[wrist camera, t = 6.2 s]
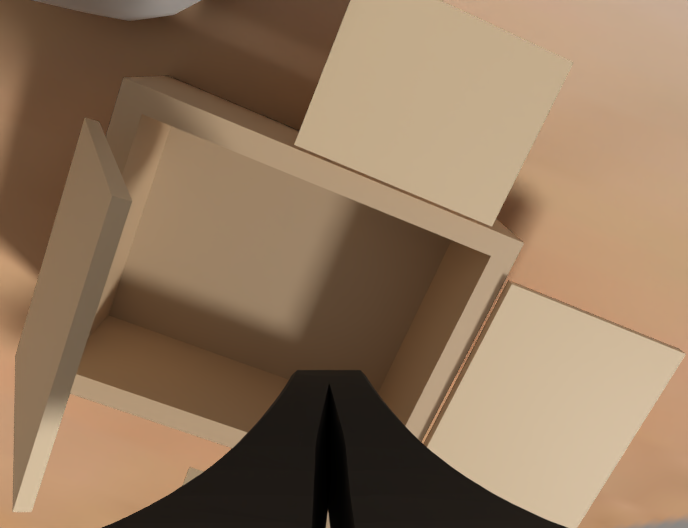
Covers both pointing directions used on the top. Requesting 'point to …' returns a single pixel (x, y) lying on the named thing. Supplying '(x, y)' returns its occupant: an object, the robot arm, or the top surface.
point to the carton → (365, 261)
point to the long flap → (65, 304)
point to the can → (125, 7)
